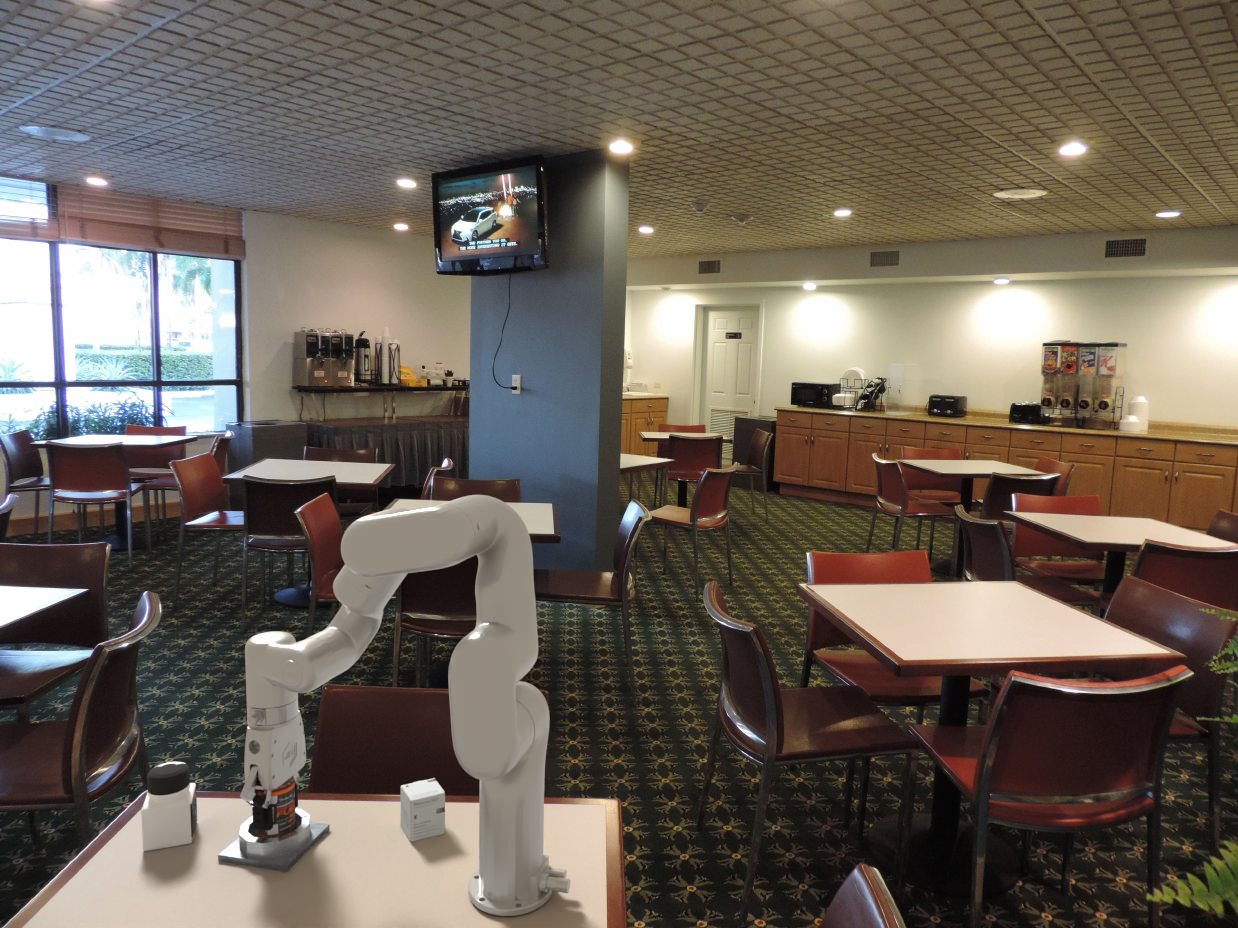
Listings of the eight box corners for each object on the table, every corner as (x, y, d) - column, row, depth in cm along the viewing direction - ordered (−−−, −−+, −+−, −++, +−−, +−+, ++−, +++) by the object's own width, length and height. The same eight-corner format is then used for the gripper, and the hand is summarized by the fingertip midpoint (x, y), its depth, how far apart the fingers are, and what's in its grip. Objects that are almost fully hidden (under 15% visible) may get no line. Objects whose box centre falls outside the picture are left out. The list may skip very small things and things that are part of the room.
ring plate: (329, 829, 138) (329, 809, 137) (286, 871, 126) (286, 850, 126) (266, 820, 140) (265, 800, 140) (218, 860, 128) (217, 839, 128)
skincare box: (410, 843, 134) (409, 800, 133) (399, 825, 139) (399, 784, 139) (446, 833, 137) (445, 791, 137) (434, 816, 143) (434, 776, 142)
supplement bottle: (281, 843, 129) (279, 775, 128) (248, 838, 130) (245, 771, 129) (303, 823, 135) (301, 758, 134) (271, 819, 136) (268, 754, 135)
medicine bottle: (192, 843, 133) (190, 773, 131) (142, 852, 130) (139, 780, 129) (197, 821, 139) (195, 754, 138) (149, 828, 137) (146, 760, 135)
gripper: (259, 735, 121) (263, 850, 123) (324, 692, 138) (326, 793, 140) (215, 730, 123) (219, 843, 125) (284, 688, 140) (287, 788, 142)
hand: (276, 816), depth 132 cm, fingers closed on supplement bottle, 5 cm apart
